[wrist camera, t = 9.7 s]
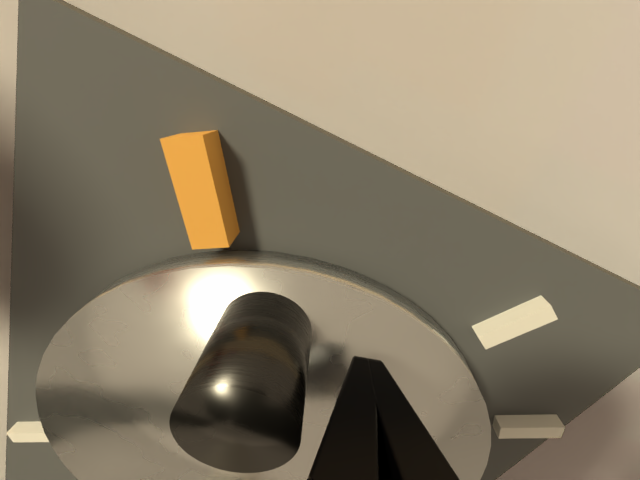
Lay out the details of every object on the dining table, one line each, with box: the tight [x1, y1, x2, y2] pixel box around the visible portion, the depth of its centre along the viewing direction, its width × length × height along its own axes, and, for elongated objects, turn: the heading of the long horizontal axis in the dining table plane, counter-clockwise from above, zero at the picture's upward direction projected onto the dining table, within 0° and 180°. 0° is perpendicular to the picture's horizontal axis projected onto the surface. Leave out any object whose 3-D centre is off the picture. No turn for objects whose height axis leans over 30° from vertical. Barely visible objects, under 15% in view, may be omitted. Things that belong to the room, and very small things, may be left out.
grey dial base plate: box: [6, 0, 640, 480], centre depth 13 cm, size 22×20×2 cm
